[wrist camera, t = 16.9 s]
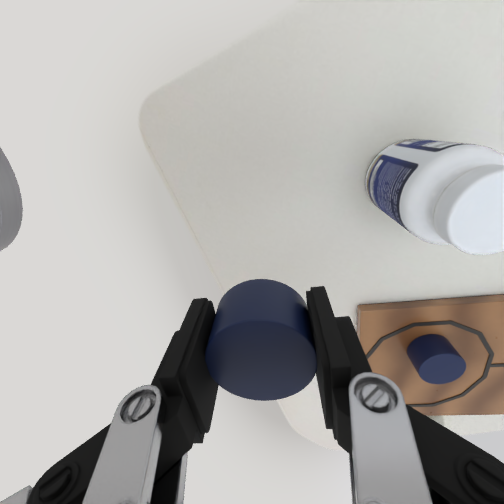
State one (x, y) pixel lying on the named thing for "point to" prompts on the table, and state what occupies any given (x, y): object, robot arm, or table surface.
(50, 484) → the robot arm
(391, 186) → the pill bottle
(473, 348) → the face mat
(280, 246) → the table surface
